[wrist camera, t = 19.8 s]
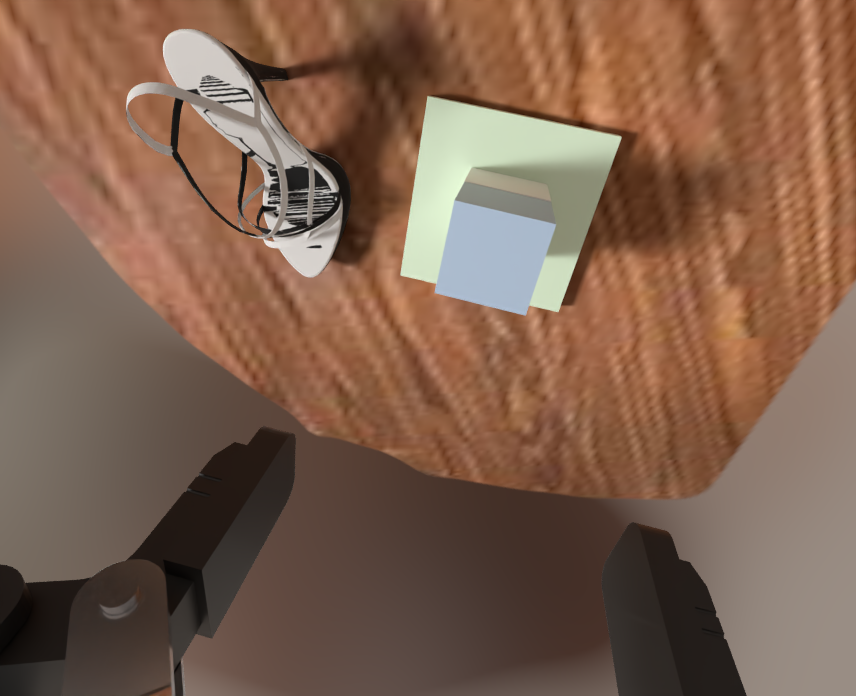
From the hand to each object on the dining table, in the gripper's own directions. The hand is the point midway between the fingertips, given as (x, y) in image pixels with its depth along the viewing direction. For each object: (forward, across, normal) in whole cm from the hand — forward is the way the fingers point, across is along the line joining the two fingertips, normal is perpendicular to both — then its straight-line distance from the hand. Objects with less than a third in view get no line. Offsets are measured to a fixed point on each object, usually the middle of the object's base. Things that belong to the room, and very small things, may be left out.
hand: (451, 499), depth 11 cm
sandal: (+28, +16, 0) cm, 32 cm away
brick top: (+22, 0, 0) cm, 22 cm away
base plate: (+28, 0, 0) cm, 28 cm away
